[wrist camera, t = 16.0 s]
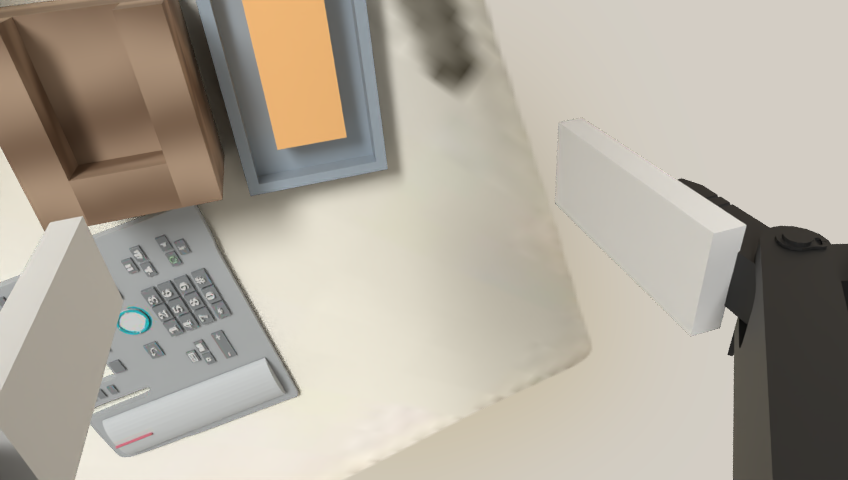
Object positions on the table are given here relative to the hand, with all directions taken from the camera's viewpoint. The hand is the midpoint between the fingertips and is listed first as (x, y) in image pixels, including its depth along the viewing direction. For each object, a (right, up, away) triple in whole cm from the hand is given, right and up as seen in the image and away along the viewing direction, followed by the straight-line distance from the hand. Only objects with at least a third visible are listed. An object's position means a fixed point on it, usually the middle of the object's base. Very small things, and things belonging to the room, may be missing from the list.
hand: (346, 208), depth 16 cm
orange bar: (-7, +14, +23) cm, 28 cm away
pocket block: (-19, +9, +23) cm, 31 cm away
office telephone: (-23, -10, +34) cm, 42 cm away
